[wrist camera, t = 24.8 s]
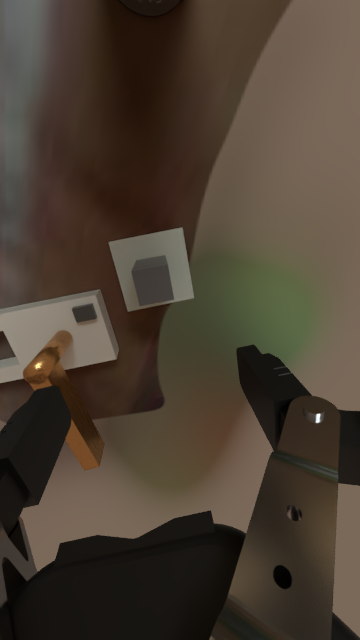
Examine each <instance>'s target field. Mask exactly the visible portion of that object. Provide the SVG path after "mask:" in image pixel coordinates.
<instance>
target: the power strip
mask: <svg viewBox="0 0 360 640" xmlns="http://www.w3.org/2000/svg"><path fill="white" fill-rule="evenodd" d="M60 330H64V331H67V332H69V333H70V334H71V335H72V338H73V340H72V343H71V344H70V346H69V347H68V349H67V350H66V352H65V353H64V354H63V356H62V357H61V359H60V360H59V361H60V363H61V365H62V367H63V369H64V370H67V369H72V368H77V367H82V366H86V365H91V364H96V363H101V362H106V361H111V360H116V359H117V356H118V352H119V347H118V344H117V341H116V338H115V334H114V331H113V328H112V325H111V322H110V319H109V315H108V312H107V309H106V306H105V303H104V300H103V296H102V293H101V290H100V289H98V290H93V291H88V292H83V293H78V294H73V295H68V296H63V297H58V298H53V299H48V300H44V301H39V302H34V303H29V304H24V305H19V306H14V307H9V308H4V309H0V331H3V332H4V334H5V336H6V338H7V340H8V342H9V344H10V346H11V347H12V349H13V351H14V353H15V355H16V357H13V358H8V359H3V360H0V383H4V382H9V381H14V380H18V379H23V378H24V377H23V370H24V369H25V368H26V367H27V365H28V364H29V363H30V362H31V361H32V360H33V359H34V357H35V356H36V355H37V354H38V353H39V352H40V351H41V349H42V348H43V347H44V346H45V345H46V344H47V343H48V341H49V340H50V339H51V338H52V337H53V336H54V335H55V333H56V332H58V331H60Z"/></svg>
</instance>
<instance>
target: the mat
mask: <svg viewBox="0 0 360 640" xmlns="http://www.w3.org/2000/svg"><path fill="white" fill-rule="evenodd" d="M108 243H109V246H110V250H111V254H112V257H113V261H114V264H115V268H116V271H117V275H118V278H119V282H120V286H121V289H122V293H123V296H124V300H125V303H126V307H127V310H128V312H129V311H134V310H139V309H144V308H148V307H153V306H158V305H163V304H168V303H173V302H178V301H183V300H188V299H192V298H194V295H193V288H192V282H191V276H190V270H189V264H188V258H187V252H186V246H185V240H184V234H183V228H177V229H172V230H167V231H161V232H156V233H151V234H146V235H141V236H136V237H131V238H126V239H121V240H116V241H111V242H108ZM162 255H165V256H166V260H167V263H168V268H169V273H170V279H171V284H172V290H173V295H174V300H170V301H165V302H159V303H154V304H148V305H143V306H139V302H138V297H137V293H136V289H135V285H134V281H133V277H132V273H131V271H132V269H133V266H134V264H135V262H136V260H140V259H146V258H151V257H157V256H162Z"/></svg>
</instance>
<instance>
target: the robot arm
mask: <svg viewBox="0 0 360 640" xmlns="http://www.w3.org/2000/svg"><path fill="white" fill-rule="evenodd" d="M120 1H121V2H122V3H123V4H124V5H125V6H126V7H128V8H129V9H131V10H132V11H134V12H136V13H138V14H141V15H145V16H158V15H161V14H164V13H167V12H168V11H169V10H171V9H172V8H174V7H175V6H176V5H177V4H178V3H179V1H180V0H120ZM237 361H238V371H239V379H240V384H241V387H242V389H243V392H244V394H245V396H246V398H247V399H248V402H249V403H250V405H251V407H252V409H253V411H254V413H255V415H256V417H257V419H258V421H259V423H260V425H261V427H262V429H263V431H264V433H265V435H266V437H267V439H268V440H269V442H270V444H271V446H272V448H273V450H274V452H272V453H271V455H270V457H269V460H268V463H267V467H266V470H265V473H264V477H263V480H262V483H261V487H260V490H259V494H258V497H257V500H256V503H255V507H254V511H253V514H252V517H251V520H250V523H249V527H248V530H247V533H244V532H242V531H241V530H238V529H236V528H233V527H230V526H227V525H222V524H215V523H213V518H212V514H211V511H206V512H202V513H197V514H192V515H188V516H183V517H178V518H174V519H172V520H170V521H168V522H167V523H165V524H163V525H161V526H159V527H157V528H155V529H153V530H151V531H150V532H148V533H146V534H144V535H142V536H140V537H138V538H135V539H128V538H119V537H110V536H100V535H96V536H91V537H87V538H82V539H78V540H74V541H68V542H64V543H60V545H59V549H58V553H57V556H56V559H55V561H53V562H52V563H50V564H48V565H47V566H45V567H44V568H42V569H41V570H40V571H38V572H37V569H36V567H35V563H34V559H33V556H32V552H31V548H30V545H29V541H28V537H27V534H26V530H25V526H24V523H23V520H22V518H21V517H20V514H21V512H22V509H23V508H25V507H30V506H34V505H38V504H39V502H40V500H41V497H42V494H43V492H44V490H45V487H46V485H47V482H48V480H49V478H50V475H51V473H52V470H53V468H54V465H55V463H56V460H57V458H58V456H59V453H60V451H61V448H62V446H63V443H64V441H65V439H66V436H67V434H68V431H69V429H70V426H71V414H70V411H69V409H68V406H67V404H66V402H65V400H64V398H63V395H62V393H61V391H60V389H59V387H58V386H56V385H53V386H49V387H44V388H39V389H36V390H35V391H34V393H33V394H32V396H31V397H30V399H29V400H28V401H27V403H25V404H24V405H23V406H21V407H20V408H19V409H18V410H17V411H16V412H15V413H14V414H13V415H12V416H11V418H10V419H9V421H8V422H7V425H5V426H4V427H3V429H2V430H1V432H0V640H360V638H359V637H358V636H357V635H356V634H355V633H354V632H353V631H352V630H351V629H350V628H349V627H348V626H347V625H346V624H345V623H344V622H342V621H341V620H340V619H339V618H338V617H337V616H336V615H335V614H334V613H333V612H332V606H333V586H334V564H335V542H336V521H337V499H338V483H343V484H351V485H359V486H360V411H344V410H338V409H337V408H336V407H335V405H333V404H332V403H330V402H329V401H327V400H325V399H323V398H320V397H316V396H312V395H311V394H310V393H309V392H308V391H307V389H306V388H305V387H304V386H303V385H302V384H301V383H300V382H299V380H298V379H297V378H296V377H295V376H294V375H293V374H292V373H291V372H290V370H289V369H288V368H287V367H285V365H284V364H283V363H282V361H281V360H280V359H279V358H277V357H275V356H273V355H271V354H269V353H267V354H261V353H260V351H259V350H258V349H257V347H256V346H255V345H249V346H244V347H240V348H237Z"/></svg>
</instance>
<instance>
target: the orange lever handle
mask: <svg viewBox="0 0 360 640" xmlns="http://www.w3.org/2000/svg"><path fill="white" fill-rule="evenodd" d="M72 340H73V338H72V335H71V334H70V333H69V332H67V331H64V330H60V331H58V332H56V333H55V335H54V336H53V337H52V338H51V339H50V340H49V341H48V343H47V344H46V345H45V346H44V347H43V348H42V349H41V351H40V352H39V353H38V354H37V355H36V356H35V357H34V359H33V360H32V361H31V362H30V363H29V364H28V365H27V367H26V368H25V369H24V370H23V377H24V379H25V380H26V381H27V382H29V383H30V385H31V386H32V388H33V390H34V391H35V390H36V389H39V388H44V387H49V386H53V385H56V386H58V387H59V389H60V391H61V393H62V395H63V398H64V400H65V402H66V404H67V406H68V409H69V411H70V414H71V426H70V429H69V431H68V434H67V436H66V439H65V440H66V442H67V443H68V445H69V447H70V448H71V450H72V451H73V453H74V454H75V456H76V458H77V459H78V460H79V462H80V464H81V466H82V467H83V469H84V470H88V469H92V468H95V467H99V466H100V462H101V457H102V453H103V448H104V442H103V440H102V438H101V436H100V434H99V433H98V431H97V429H96V427H95V425H94V423H93V422H92V420H91V418H90V416H89V414H88V412H87V411H86V409H85V407H84V405H83V403H82V402H81V400H80V398H79V396H78V394H77V392H76V391H75V389H74V387H73V385H72V383H71V381H70V380H69V378H68V376H67V374H66V372H65V371H64V369H63V367H62V365H61V363H60V361H59V360H60V359H61V357H62V356H63V354H64V353H65V352H66V350H67V349H68V347H69V346H70V344H71V343H72Z"/></svg>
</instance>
